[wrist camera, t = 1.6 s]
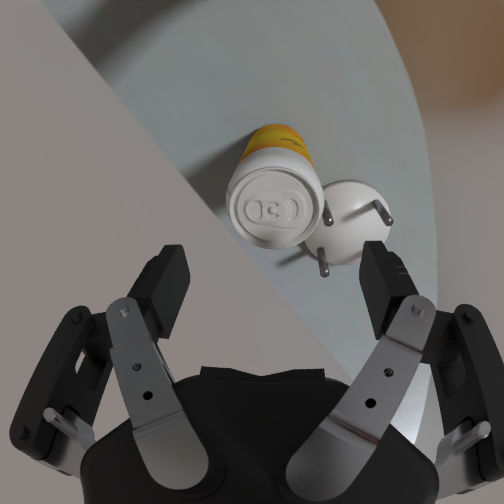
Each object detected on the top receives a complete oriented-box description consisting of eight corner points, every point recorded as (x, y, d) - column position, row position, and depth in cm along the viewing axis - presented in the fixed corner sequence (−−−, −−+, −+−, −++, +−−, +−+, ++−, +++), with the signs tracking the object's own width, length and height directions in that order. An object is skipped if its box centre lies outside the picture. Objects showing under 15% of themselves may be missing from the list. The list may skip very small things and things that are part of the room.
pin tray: (301, 179, 30) (305, 200, 25) (393, 181, 28) (412, 201, 24) (301, 260, 36) (303, 290, 31) (380, 258, 35) (392, 286, 30)
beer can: (304, 176, 30) (322, 255, 17) (249, 176, 30) (227, 254, 18) (305, 123, 26) (330, 161, 14) (246, 123, 27) (217, 162, 14)
